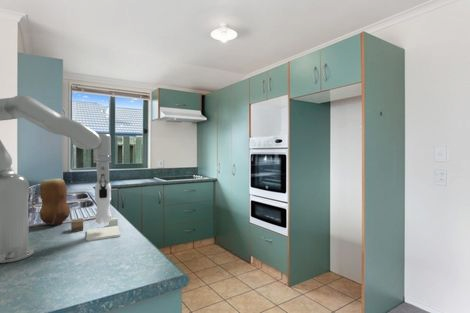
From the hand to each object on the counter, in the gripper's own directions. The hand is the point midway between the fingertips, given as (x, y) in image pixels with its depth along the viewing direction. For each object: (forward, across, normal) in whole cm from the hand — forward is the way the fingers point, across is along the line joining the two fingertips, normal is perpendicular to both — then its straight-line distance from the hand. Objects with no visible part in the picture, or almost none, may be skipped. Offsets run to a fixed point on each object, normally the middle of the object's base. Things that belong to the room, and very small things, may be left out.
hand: (103, 196), depth 129 cm
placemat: (+18, 0, 0) cm, 18 cm away
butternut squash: (+18, +30, +23) cm, 42 cm away
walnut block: (+18, +13, +12) cm, 25 cm away
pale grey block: (+18, +13, -5) cm, 23 cm away
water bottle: (+13, 0, 0) cm, 13 cm away
